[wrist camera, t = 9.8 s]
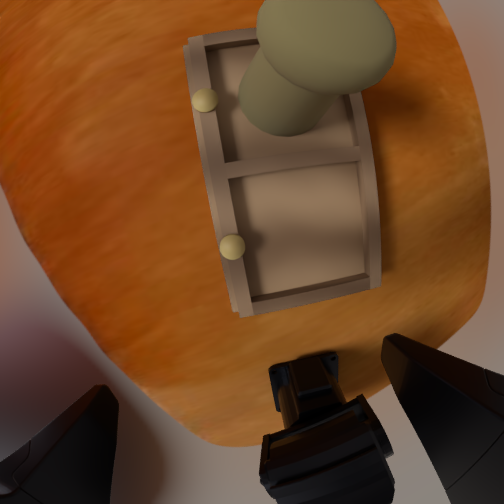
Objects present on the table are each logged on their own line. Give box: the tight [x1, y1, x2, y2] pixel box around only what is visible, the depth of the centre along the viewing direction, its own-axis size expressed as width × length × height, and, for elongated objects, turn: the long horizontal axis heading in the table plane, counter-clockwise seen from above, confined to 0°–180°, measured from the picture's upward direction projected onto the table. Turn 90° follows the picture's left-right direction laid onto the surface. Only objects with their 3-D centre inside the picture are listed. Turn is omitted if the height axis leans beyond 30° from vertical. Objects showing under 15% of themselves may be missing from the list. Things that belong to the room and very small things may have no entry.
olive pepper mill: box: [238, 0, 396, 137], centre depth 11 cm, size 6×6×11 cm
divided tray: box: [183, 28, 381, 318], centre depth 17 cm, size 20×12×3 cm, turn 10°
